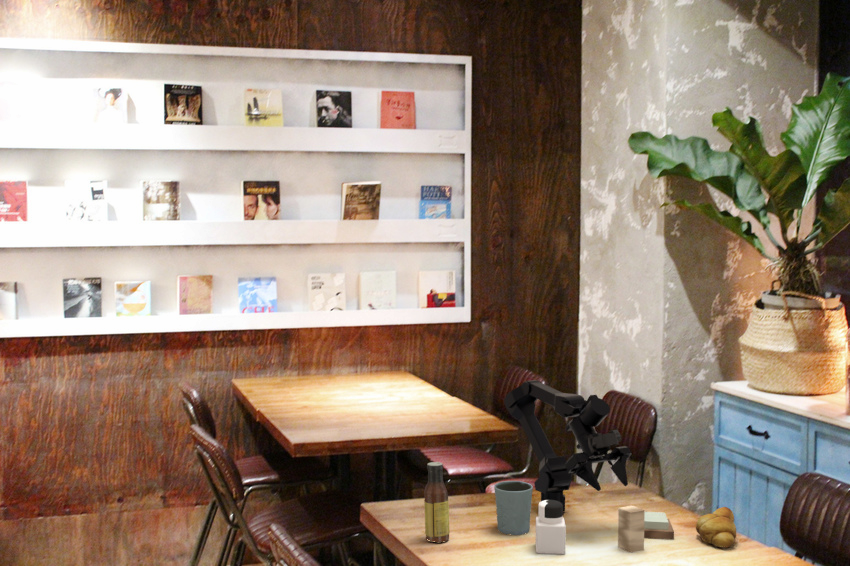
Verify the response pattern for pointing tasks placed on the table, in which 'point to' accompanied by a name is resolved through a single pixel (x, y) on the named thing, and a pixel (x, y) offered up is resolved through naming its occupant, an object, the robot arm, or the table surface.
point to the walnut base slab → (660, 533)
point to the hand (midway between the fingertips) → (613, 487)
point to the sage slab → (656, 521)
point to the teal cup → (513, 506)
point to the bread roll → (717, 527)
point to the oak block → (631, 528)
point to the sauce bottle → (436, 505)
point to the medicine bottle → (550, 528)
